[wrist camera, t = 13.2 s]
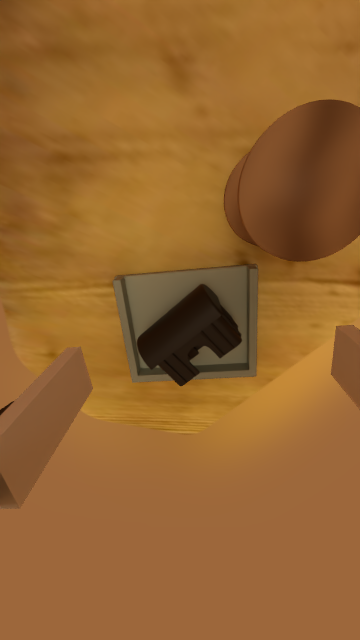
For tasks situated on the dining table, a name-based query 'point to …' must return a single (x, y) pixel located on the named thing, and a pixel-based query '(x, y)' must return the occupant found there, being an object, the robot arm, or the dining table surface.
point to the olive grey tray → (169, 289)
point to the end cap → (188, 334)
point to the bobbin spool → (300, 183)
